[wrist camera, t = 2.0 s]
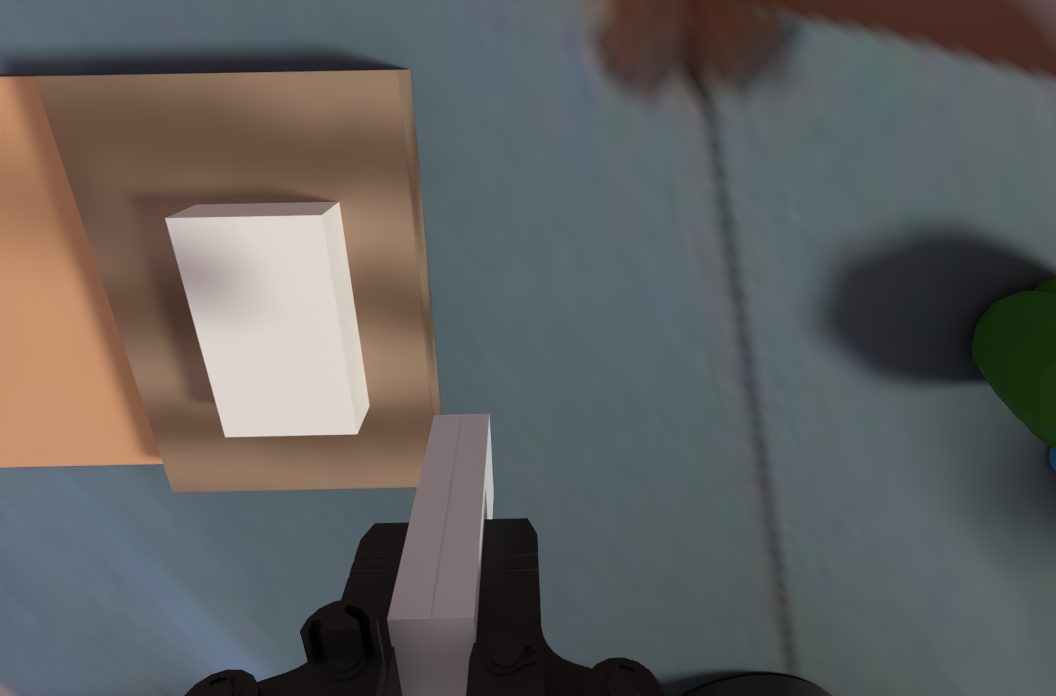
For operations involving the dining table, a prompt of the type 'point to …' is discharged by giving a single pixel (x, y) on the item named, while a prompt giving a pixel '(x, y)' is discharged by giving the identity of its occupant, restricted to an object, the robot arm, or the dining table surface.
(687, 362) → the dining table surface
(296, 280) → the cream block
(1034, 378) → the bell pepper
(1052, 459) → the handheld gaming device
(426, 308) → the board
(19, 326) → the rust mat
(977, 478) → the dining table surface
